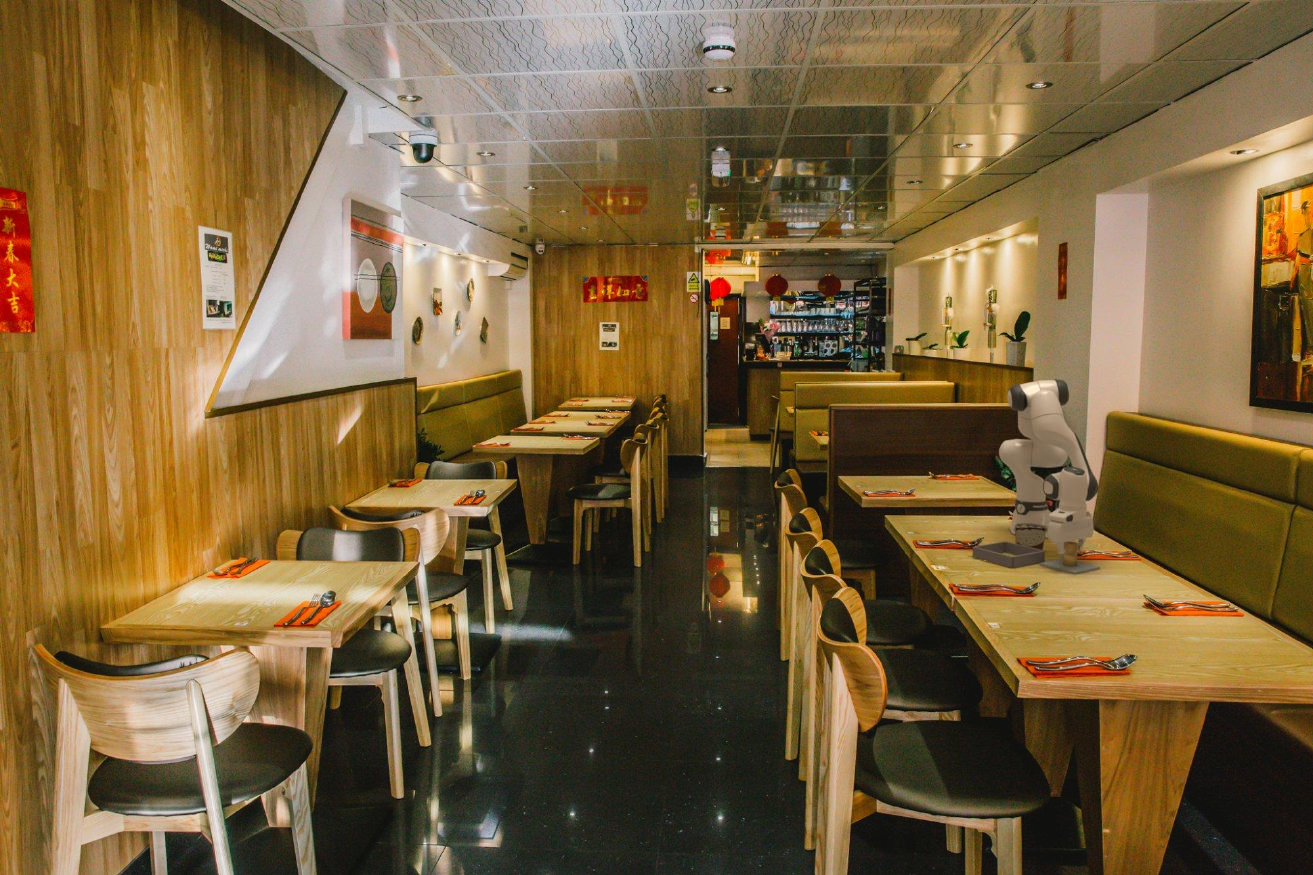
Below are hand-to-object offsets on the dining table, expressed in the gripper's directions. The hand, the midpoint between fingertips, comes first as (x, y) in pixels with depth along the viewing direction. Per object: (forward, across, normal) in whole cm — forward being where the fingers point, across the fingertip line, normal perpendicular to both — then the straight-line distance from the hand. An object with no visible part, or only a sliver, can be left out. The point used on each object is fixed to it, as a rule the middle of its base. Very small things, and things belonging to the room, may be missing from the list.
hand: (1070, 552), depth 312 cm
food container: (+6, -8, -24) cm, 26 cm away
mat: (+5, 0, 0) cm, 5 cm away
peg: (+5, 0, 0) cm, 5 cm away
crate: (+5, +10, -18) cm, 21 cm away
